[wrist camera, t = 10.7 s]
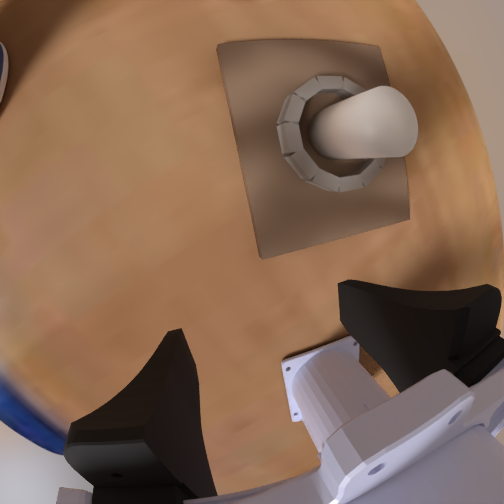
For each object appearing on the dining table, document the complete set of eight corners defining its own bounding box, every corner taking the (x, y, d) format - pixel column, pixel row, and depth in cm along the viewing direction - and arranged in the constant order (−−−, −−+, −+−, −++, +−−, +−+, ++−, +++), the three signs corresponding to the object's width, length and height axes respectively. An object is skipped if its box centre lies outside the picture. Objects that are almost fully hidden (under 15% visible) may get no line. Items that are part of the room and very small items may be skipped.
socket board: (403, 217, 23) (421, 222, 21) (259, 255, 21) (268, 266, 19) (372, 50, 18) (388, 41, 16) (216, 49, 16) (220, 34, 14)
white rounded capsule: (359, 156, 20) (423, 154, 13) (314, 163, 19) (372, 161, 13) (348, 107, 18) (409, 87, 12) (302, 110, 18) (355, 84, 11)
